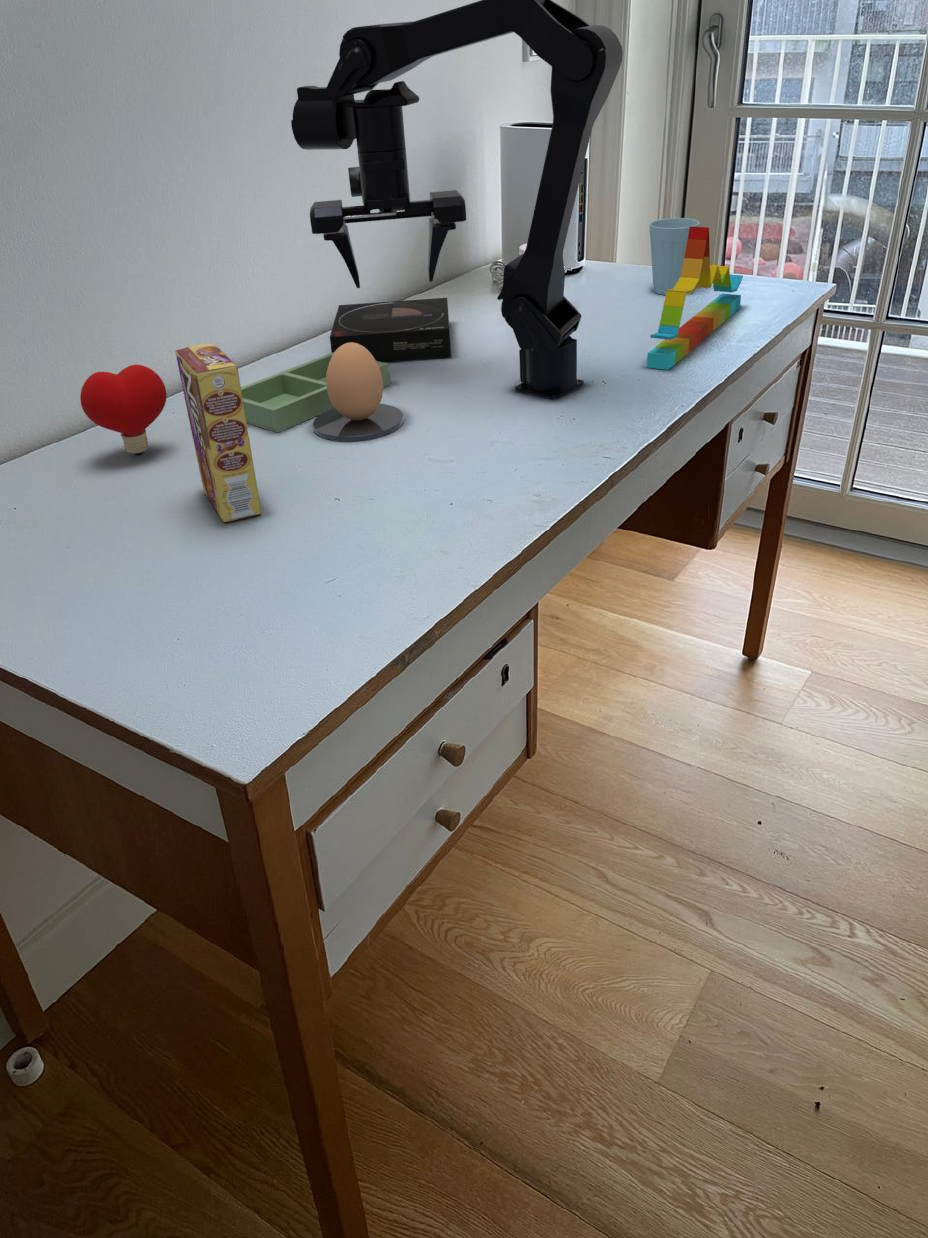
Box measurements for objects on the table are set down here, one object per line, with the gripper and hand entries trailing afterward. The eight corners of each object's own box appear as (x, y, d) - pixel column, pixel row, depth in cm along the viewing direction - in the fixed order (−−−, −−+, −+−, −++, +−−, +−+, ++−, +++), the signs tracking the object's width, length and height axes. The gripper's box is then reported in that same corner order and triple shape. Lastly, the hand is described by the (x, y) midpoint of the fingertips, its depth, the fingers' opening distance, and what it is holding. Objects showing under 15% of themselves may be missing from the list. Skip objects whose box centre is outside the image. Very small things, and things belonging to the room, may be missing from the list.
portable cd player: (449, 322, 150) (447, 296, 148) (451, 357, 136) (449, 328, 134) (342, 330, 151) (339, 303, 148) (333, 365, 136) (329, 336, 134)
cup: (637, 293, 158) (640, 225, 152) (662, 282, 163) (665, 216, 157) (678, 299, 154) (683, 229, 148) (703, 288, 158) (708, 220, 153)
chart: (719, 305, 149) (727, 200, 141) (739, 307, 148) (749, 201, 140) (645, 367, 128) (649, 247, 120) (668, 370, 126) (675, 248, 118)
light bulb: (103, 474, 109) (79, 387, 103) (92, 453, 114) (68, 370, 109) (186, 454, 112) (166, 369, 107) (171, 435, 117) (152, 353, 112)
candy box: (266, 514, 98) (238, 364, 90) (224, 524, 96) (191, 373, 88) (242, 482, 105) (214, 340, 96) (203, 492, 103) (171, 348, 95)
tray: (390, 384, 128) (388, 363, 127) (277, 432, 116) (273, 410, 115) (337, 371, 134) (334, 351, 132) (224, 416, 122) (220, 394, 120)
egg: (320, 424, 116) (308, 348, 111) (353, 405, 121) (344, 331, 116) (364, 432, 113) (355, 354, 108) (397, 413, 117) (389, 337, 113)
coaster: (422, 418, 117) (421, 413, 117) (358, 448, 111) (357, 443, 110) (359, 401, 123) (358, 397, 123) (295, 429, 117) (294, 424, 116)
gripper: (453, 134, 123) (461, 263, 131) (304, 146, 122) (322, 275, 130) (462, 145, 113) (470, 283, 122) (301, 158, 112) (320, 296, 121)
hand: (394, 284), depth 124 cm, fingers open, 9 cm apart
